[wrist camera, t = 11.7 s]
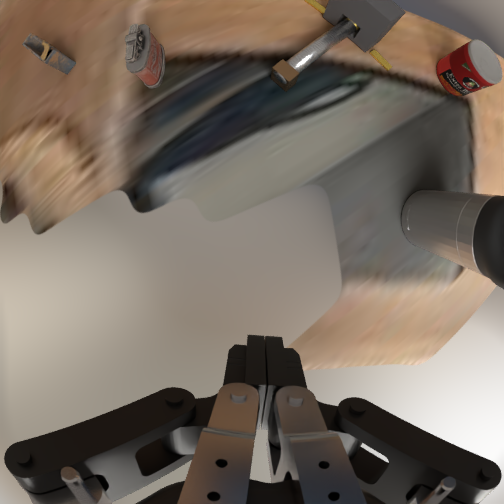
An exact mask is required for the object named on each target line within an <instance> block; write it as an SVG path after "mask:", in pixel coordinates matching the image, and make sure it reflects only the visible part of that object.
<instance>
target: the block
mask: <svg viewBox="0 0 504 504" xmlns="http://www.w3.org/2000/svg"><path fill="white" fill-rule="evenodd" d="M405 13H406V12H405V11H404V10H402V9H401V8H400V7H399V6H398V5H397V4H395V3H394V2H393V1H392V0H329V2H328V5H327V7H326V10H325V12H324V14H323V18H325V19H326V20H327V21H329V22H330V23H331V24H332V25H334V26H336V25H337V24H339V23H340V22H342V21H343V20H345V19H346V18H349V19H350V20H351V21H352V22H354V23H355V24H356V25H357V26H358V27H360V28H359V29H357V30H356V31H354V32H353V33H352V34H350V35H349V36H347V37H348V38H349V39H351V40H352V41H353V42H354V43H355V44H356V45H357V46H358V47H360V48H361V49H362V50H363V51H364V52H366V51H368V50H369V49H370V48H372V47H373V46H374V45H376V44H377V43H378V42H379V41H380V40H381V39H382V38H383V37H384V36H385V35H386V33H387V32H388V31H389V30H390V29H391V28H392V27H393V26H394V25H395V23H396V22H397V21H398V20H399V19H400V18H401V17H402V16H403V15H404V14H405Z"/></svg>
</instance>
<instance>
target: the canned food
mask: <svg viewBox="0 0 504 504" xmlns="http://www.w3.org/2000/svg"><path fill="white" fill-rule="evenodd" d="M437 75H438V78H439V80H440V82H441V84H442V85H443V87H444V88H445V89H446V90H447V91H448V92H449V93H451V94H453V95H456V96H464V95H466V94H469V93H472V92H475V91H478V90H480V89H483V88H486V87H489V86H492V85H494V84H497V83H499V82H500V81H501V79H502V69H501V65H500V63H499V60H498V58H497V57H496V55H495V53H494V52H493V51H492V50H491V48H490V47H489V46H488V45H487V44H485V43H484V42H482V41H480V40H477V39H476V40H472V41H470V42H468V43H466V44H465V45H463V46H461V47H460V48H458V49H456V50H455V51H453V52H452V53H450V54H448V55H447V56H445V57H444V58H442V59H441V60H440V61H439V63H438V65H437Z"/></svg>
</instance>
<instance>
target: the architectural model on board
mask: <svg viewBox="0 0 504 504" xmlns="http://www.w3.org/2000/svg"><path fill="white" fill-rule="evenodd" d="M22 45H23V46H25V47H26V48H27V49H28V50H29V51H31V52H32V53H33V54H34V55H36V56H37V57H38V58H39V59H40V60H42V61H43V62H44V63H46V64H48V65H50V66H52V67H54V68H56V69H58V70H60V71H62V72H64V73H65V74H68V73H69V72H70V71H71V69H72V68H73V67H74V65H75V64H76V62H74V61H72V60H71V59H70V58H69V57H67V56H66V55H64V54H63V53H61V52H60V51H59V50H57V49H56V47H54V46H52V45H51V44H49V43H47V42H46V41H45V40H42V39H40V38H39V37H37V36H35V35H33V34H32V33H30V34H29V36H28V37H27V38H26V40H25V41H24V42H23V44H22ZM49 50H53V51H52V52H51V53H50V55H49V56H48V57H47V56H46V55H47V53H48V51H49Z"/></svg>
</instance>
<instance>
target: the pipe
mask: <svg viewBox="0 0 504 504" xmlns="http://www.w3.org/2000/svg"><path fill="white" fill-rule="evenodd" d="M305 2H307V3H308V4H310V5H311V6H312V7H314V8H315V9H317V10H318V11H319V12H321V13H322V14H324V12H325V10H326V8H324V7H323V6H322V5H320V4H319V3H317V2H316V1H315V0H305ZM359 28H360V27H358V26H357V25H356V24H355V23H354V22H352V21H351V20H350V19H349V18H346V19H345V20H343V21H342V22H340V23H339V24H337V25H336V26H334V27H333V28H331V29H330V30H328V31H327V32H325V33H324V34H323V35H321V36H320V37H318V38H317V39H316V40H314V41H313V42H311V43H310V44H309V45H307V46H306V47H305V48H303V49H302V50H301V51H299V52H298V53H297V54H295V55H294V56H293V57H291V58H290V59H289V60H288V61H284V60H283V59H282V60H281V61H280V62H279V63H277V64H276V65H275V66H274V67H272V73H271V79H272V80H273V81H274V82H275V83H276V84H277V85H279V86H280V87H281V88H282V89H283V90H284V91H285V92H287V91H288V90H289V89H290V88H291V87H292V86H294V85H295V84H296V81H297V78H298V76H299V73H300V72H301V71H302V70H304V69H305V68H306V67H307V66H309V65H310V64H311V63H312V62H314V61H315V60H316V59H318V58H319V57H320V56H322V55H323V54H324V53H325V52H327V51H328V50H329V49H331V48H332V47H333V46H335V45H336V44H338V43H339V42H340V41H342V40H343V39H344V38H346V37H347V36H349V35H350V34H352V33H353V32H354V31H356V30H357V29H359ZM370 54H371V55H372V56H373V57H374V58H375V59H376V60H377V61H378V62H379V63H380V64H381V65H382V66H383V67H384V68H385V69H386V70H387V71H388V70H389V69H390V68H392V66H391V65H390V64H389V63H388V62H387V61H386V60H385V59H384V58H383V57H382V56H381V55H380V54H379V53H378V52H377V51H376V50H375V49H374V50H373V51H371V52H370Z"/></svg>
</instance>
